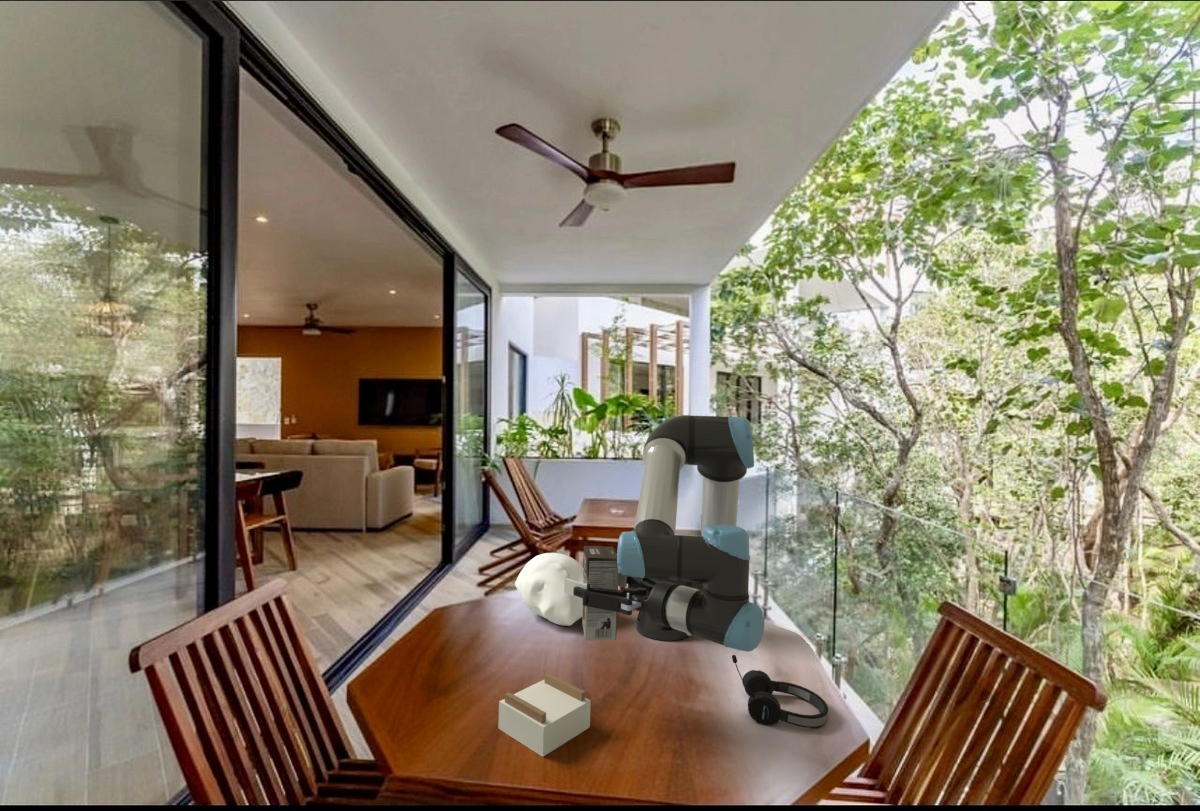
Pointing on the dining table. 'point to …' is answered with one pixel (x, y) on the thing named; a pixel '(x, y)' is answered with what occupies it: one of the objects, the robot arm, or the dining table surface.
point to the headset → (768, 708)
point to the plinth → (545, 714)
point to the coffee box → (603, 576)
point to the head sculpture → (551, 587)
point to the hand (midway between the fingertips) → (584, 579)
